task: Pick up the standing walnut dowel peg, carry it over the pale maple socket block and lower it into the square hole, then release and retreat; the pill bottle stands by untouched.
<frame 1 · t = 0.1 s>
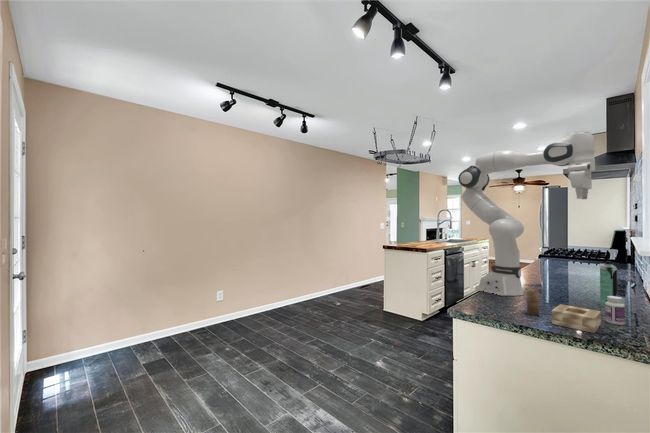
hand: (582, 199, 133), 48 cm above the countertop, fingers open, 8 cm apart
peg: (533, 314, 123), on the countertop
pill bottle: (615, 323, 112), on the countertop
socket block: (576, 324, 111), on the countertop
spray can: (608, 306, 133), on the countertop
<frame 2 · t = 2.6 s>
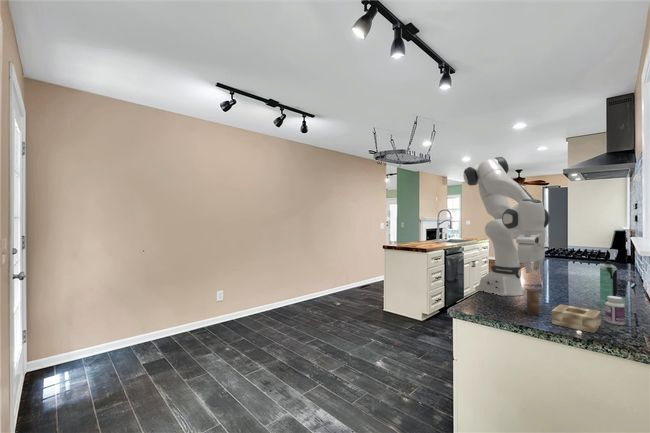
hand: (532, 271, 122), 18 cm above the countertop, fingers open, 8 cm apart
nothing on the countertop moved.
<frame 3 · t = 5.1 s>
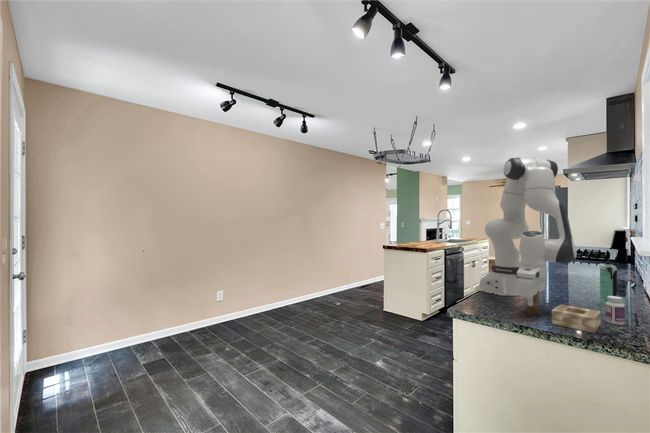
hand: (533, 304, 123), 4 cm above the countertop, fingers closed on peg, 4 cm apart
peg: (533, 314, 123), on the countertop, touching gripper
everything else where it was.
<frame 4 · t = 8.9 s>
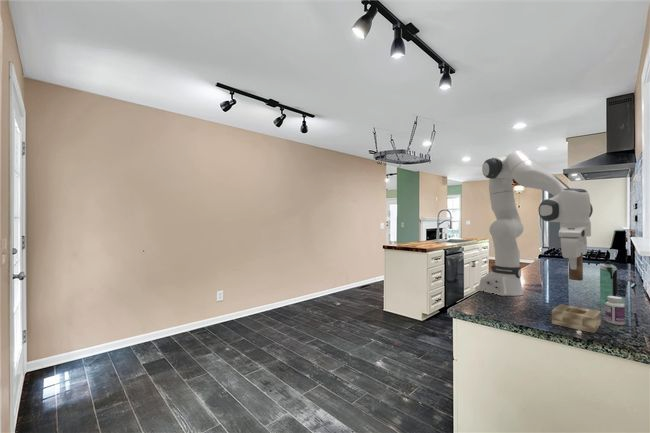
hand: (575, 268, 111), 21 cm above the countertop, fingers closed on peg, 4 cm apart
peg: (575, 279, 111), point 17 cm above the countertop, touching gripper
everything else where it was.
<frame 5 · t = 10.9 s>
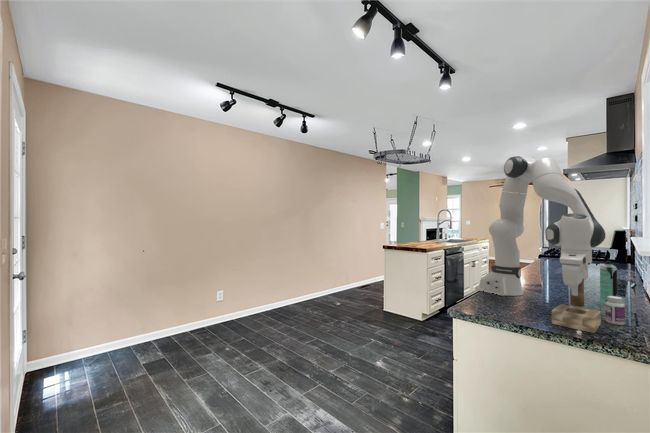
hand: (576, 294, 111), 11 cm above the countertop, fingers closed on peg, 4 cm apart
peg: (577, 305, 111), point 7 cm above the countertop, touching gripper
everything else where it was.
when the fingers open (7 cm above the countertop, at t = 12.7 s): peg drops 1 cm, resting on socket block.
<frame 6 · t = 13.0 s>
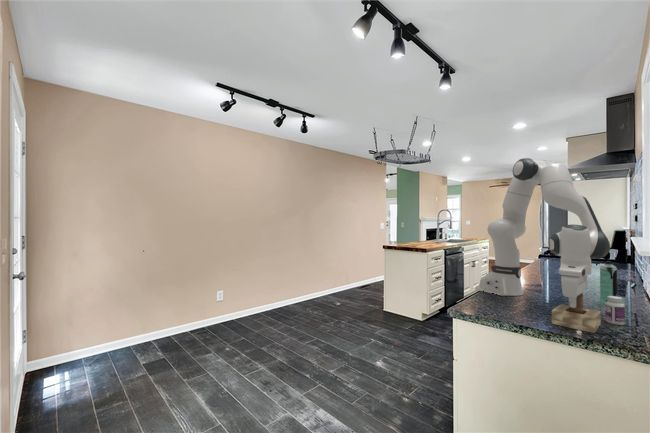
hand: (575, 305, 111), 7 cm above the countertop, fingers open, 6 cm apart
peg: (576, 320, 111), point 2 cm above the countertop, touching socket block
everything else where it was.
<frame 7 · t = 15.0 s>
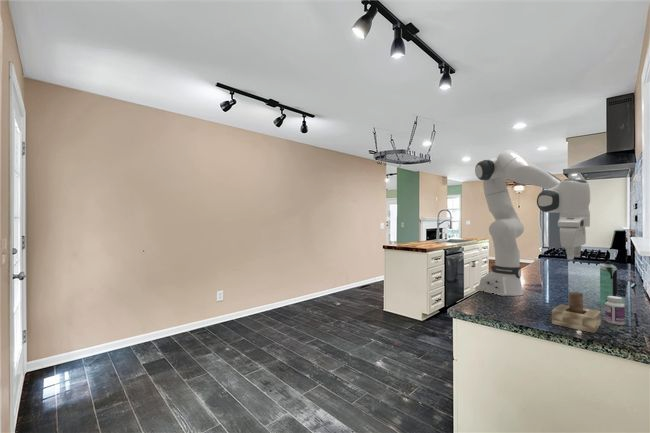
hand: (573, 258, 112), 25 cm above the countertop, fingers open, 8 cm apart
nothing on the countertop moved.
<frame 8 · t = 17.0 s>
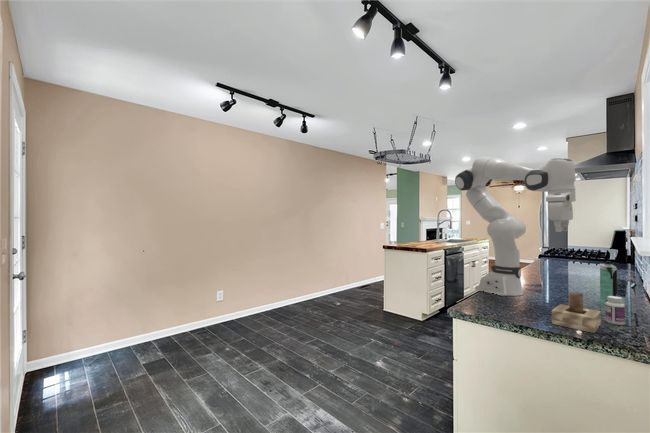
hand: (561, 231, 121), 34 cm above the countertop, fingers open, 8 cm apart
nothing on the countertop moved.
at the end: peg 0.0 cm off-centre on the socket block, point 1.5 cm above the socket block's base; peg tilted 1°; the gripper is holding nothing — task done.
